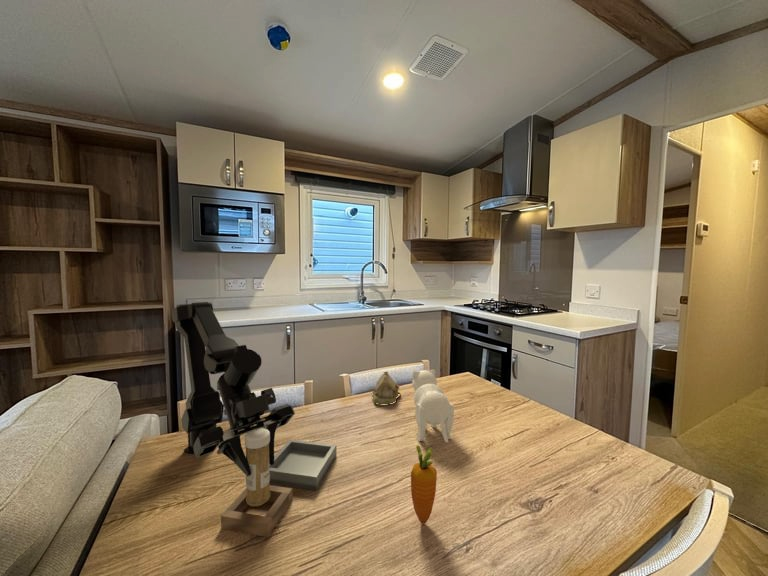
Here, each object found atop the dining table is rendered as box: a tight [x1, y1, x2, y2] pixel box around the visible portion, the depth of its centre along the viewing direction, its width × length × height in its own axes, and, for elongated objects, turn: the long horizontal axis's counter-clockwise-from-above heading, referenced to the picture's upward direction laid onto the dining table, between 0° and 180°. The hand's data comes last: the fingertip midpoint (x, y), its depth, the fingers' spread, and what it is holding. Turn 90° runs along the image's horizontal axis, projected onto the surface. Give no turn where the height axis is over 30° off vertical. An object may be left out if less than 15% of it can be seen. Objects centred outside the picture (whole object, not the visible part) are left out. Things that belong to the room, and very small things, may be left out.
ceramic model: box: [371, 371, 401, 404], centre depth 120 cm, size 14×11×10 cm
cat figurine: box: [408, 369, 455, 443], centre depth 94 cm, size 25×10×17 cm, turn 12°
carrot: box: [410, 444, 438, 525], centre depth 61 cm, size 5×5×15 cm
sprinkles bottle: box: [244, 428, 271, 507], centre depth 63 cm, size 5×5×14 cm
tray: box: [269, 438, 337, 491], centre depth 78 cm, size 13×13×3 cm
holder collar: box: [220, 484, 293, 538], centre depth 63 cm, size 10×10×2 cm
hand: (261, 470), depth 62 cm, fingers closed on sprinkles bottle, 4 cm apart
